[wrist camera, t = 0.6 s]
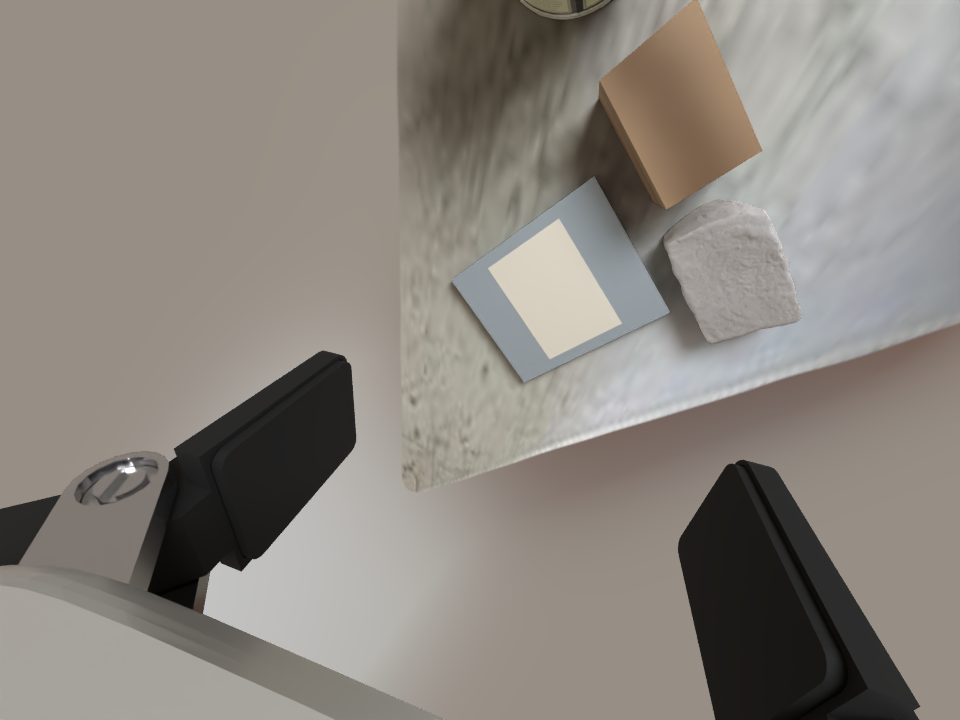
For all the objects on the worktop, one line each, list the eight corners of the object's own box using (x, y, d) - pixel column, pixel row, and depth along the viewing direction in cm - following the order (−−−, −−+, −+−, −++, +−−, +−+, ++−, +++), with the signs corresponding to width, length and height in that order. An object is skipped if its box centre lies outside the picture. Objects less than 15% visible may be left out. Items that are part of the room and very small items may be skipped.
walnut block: (673, 36, 22) (696, -3, 17) (726, 154, 24) (762, 150, 19) (598, 99, 25) (599, 80, 20) (652, 202, 26) (666, 209, 21)
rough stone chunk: (668, 225, 30) (649, 225, 26) (761, 181, 26) (757, 172, 21) (709, 337, 30) (697, 355, 26) (807, 312, 26) (812, 328, 22)
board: (594, 175, 27) (594, 176, 26) (667, 307, 29) (670, 312, 28) (455, 276, 33) (451, 280, 32) (526, 376, 36) (524, 382, 35)
